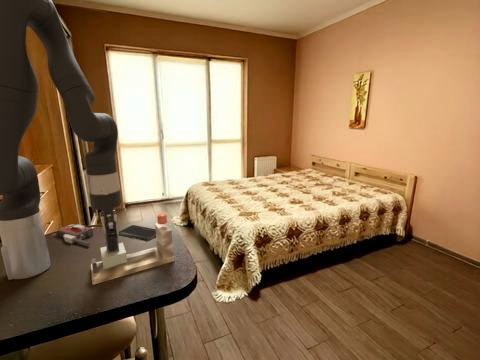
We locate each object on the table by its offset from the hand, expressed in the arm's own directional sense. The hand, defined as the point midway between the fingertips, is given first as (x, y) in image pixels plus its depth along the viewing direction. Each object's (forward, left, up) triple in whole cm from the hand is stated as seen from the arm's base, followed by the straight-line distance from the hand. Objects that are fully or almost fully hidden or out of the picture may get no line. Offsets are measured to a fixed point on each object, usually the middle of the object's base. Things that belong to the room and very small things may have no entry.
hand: (112, 247), depth 73 cm
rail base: (+5, 0, -7) cm, 9 cm away
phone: (+11, +22, -8) cm, 26 cm away
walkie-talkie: (-9, +31, -8) cm, 33 cm away
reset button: (+14, 0, +4) cm, 15 cm away
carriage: (0, 0, -4) cm, 4 cm away
